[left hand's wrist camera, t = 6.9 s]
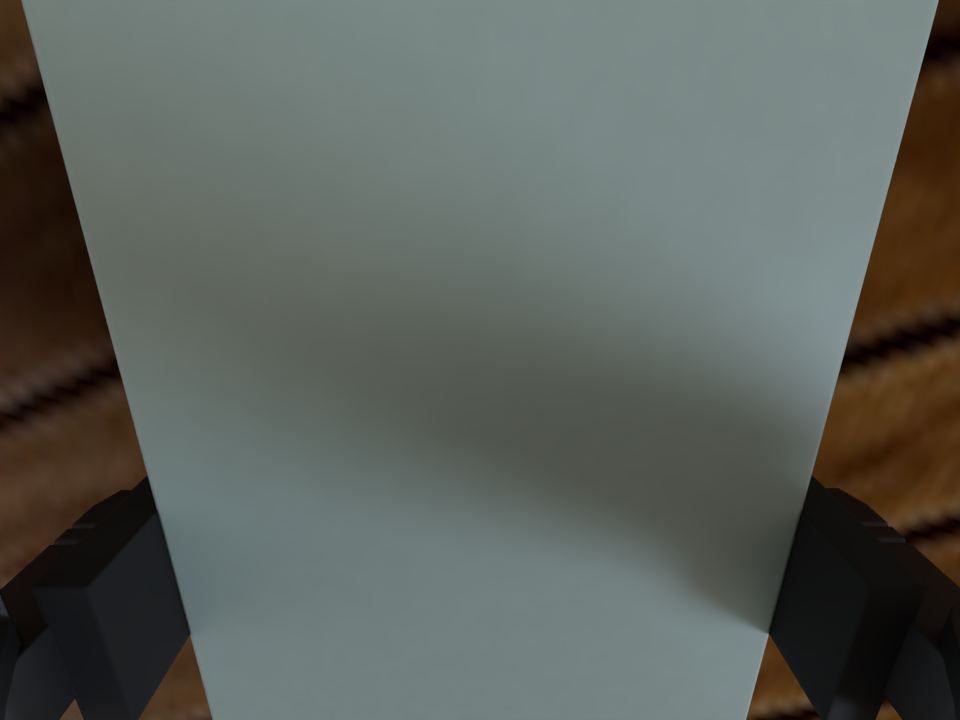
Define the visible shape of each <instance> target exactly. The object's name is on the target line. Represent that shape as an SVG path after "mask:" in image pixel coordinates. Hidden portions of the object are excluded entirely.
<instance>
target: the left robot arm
mask: <svg viewBox="0 0 960 720" xmlns="http://www.w3.org/2000/svg"><path fill="white" fill-rule="evenodd" d="M769 634H770V636H771V638H772V639H773V641H774V643H775V644H776V646H777V647H778V649H779V651H780V652H781V654H782V656H783V657H784V659H785V661H786V662H787V664H788V666H789V667H790V669H791V671H792V672H793V674H794V675H795V677H796V679H797V680H798V682H799V684H800V685H801V687H802V689H803V690H804V692H805V694H806V695H807V697H808V698H809V700H810V702H811V703H812V705H813V707H814V708H815V710H816V712H817V713H818V715H819V717H820V718H821V720H875V719H876V717H877V714H878V712H879V709H880V707H881V704H882V702H883V699H884V697H886V698H887V700H888V701H889V702H890V704H891V705H892V706H893V708H894V709H895V710H896V712H897V713H898V714H899V716H900V717H901V718H902V720H960V588H959V587H958V586H957V585H956V584H955V583H954V582H953V581H952V580H951V579H949V578H948V577H947V576H946V575H945V574H944V573H943V572H942V571H940V570H939V569H938V568H937V567H936V566H935V565H934V564H933V563H932V562H930V561H929V560H928V559H927V558H926V557H925V556H924V555H923V554H921V553H920V552H919V551H918V550H917V549H916V548H915V547H914V546H913V545H911V544H910V543H906V542H905V538H904V537H903V536H901V535H900V534H899V533H898V532H897V531H896V530H895V529H894V528H892V527H888V523H887V522H886V521H885V520H884V519H882V518H881V517H880V516H879V515H878V514H877V513H876V512H875V511H874V510H872V509H871V508H870V507H869V506H868V505H867V504H865V503H863V502H862V501H860V500H858V499H856V498H855V497H853V496H851V495H849V494H847V493H846V492H844V491H842V490H840V489H839V488H825V487H824V486H823V485H822V484H820V483H819V482H818V481H817V480H816V479H815V478H814V477H813V476H812V475H811V478H810V482H809V486H808V490H807V493H806V497H805V501H804V504H803V508H802V512H801V516H800V519H799V523H798V527H797V531H796V534H795V538H794V542H793V546H792V549H791V553H790V557H789V560H788V564H787V568H786V572H785V575H784V579H783V583H782V587H781V590H780V594H779V598H778V601H777V605H776V609H775V613H774V616H773V620H772V624H771V628H770V631H769ZM189 635H190V632H189V629H188V625H187V621H186V617H185V614H184V610H183V606H182V602H181V599H180V595H179V591H178V587H177V584H176V580H175V576H174V572H173V568H172V565H171V561H170V557H169V553H168V550H167V546H166V542H165V538H164V535H163V531H162V527H161V523H160V520H159V516H158V512H157V508H156V505H155V501H154V497H153V493H152V490H151V486H150V482H149V478H148V475H147V476H146V477H145V478H144V479H143V480H142V481H141V482H140V483H139V484H138V485H137V486H136V487H135V488H134V489H133V490H121V491H119V492H117V493H116V494H114V495H112V496H110V497H109V498H107V499H105V500H103V501H102V502H100V503H98V504H96V505H95V506H93V507H92V508H91V509H90V510H88V511H87V512H86V513H85V514H84V515H83V516H82V517H81V518H80V519H78V520H77V521H76V522H75V523H74V524H73V525H72V529H67V530H66V531H65V532H64V533H63V534H62V535H61V536H60V537H59V538H57V539H56V540H55V543H54V545H50V546H49V547H47V548H46V549H45V550H44V551H43V552H42V553H41V554H40V555H39V556H37V557H36V558H35V559H34V560H33V561H32V562H31V563H30V564H29V565H27V566H26V567H25V568H24V569H23V570H22V571H21V572H20V573H19V574H17V575H16V576H15V577H14V578H13V579H12V580H11V581H10V582H9V583H8V584H6V585H5V586H4V587H3V588H2V589H0V720H59V719H60V718H61V716H62V715H63V714H64V712H65V711H66V710H67V708H68V707H69V706H70V704H71V703H72V702H73V700H74V699H76V701H77V704H78V706H79V709H80V711H81V714H82V716H83V719H84V720H138V719H139V717H140V716H141V714H142V712H143V711H144V709H145V707H146V706H147V704H148V702H149V701H150V699H151V697H152V696H153V694H154V693H155V691H156V689H157V688H158V686H159V684H160V683H161V681H162V679H163V678H164V676H165V674H166V673H167V671H168V670H169V668H170V666H171V665H172V663H173V661H174V660H175V658H176V656H177V655H178V653H179V651H180V650H181V648H182V646H183V645H184V643H185V642H186V640H187V638H188V637H189Z"/></svg>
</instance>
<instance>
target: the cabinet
mask: <svg viewBox="0 0 960 720" xmlns="http://www.w3.org/2000/svg"><path fill="white" fill-rule="evenodd" d="M21 1H22V5H23V9H24V12H25V16H26V20H27V24H28V27H29V31H30V35H31V39H32V42H33V46H34V50H35V54H36V57H37V61H38V65H39V69H40V73H41V76H42V80H43V84H44V88H45V91H46V95H47V99H48V103H49V106H50V110H51V114H52V118H53V121H54V125H55V129H56V133H57V136H58V140H59V144H60V148H61V151H62V155H63V159H64V163H65V166H66V170H67V174H68V178H69V181H70V185H71V189H72V193H73V197H74V200H75V204H76V208H77V212H78V215H79V219H80V223H81V227H82V230H83V234H84V238H85V242H86V245H87V249H88V253H89V257H90V260H91V264H92V268H93V272H94V275H95V279H96V283H97V287H98V290H99V294H100V298H101V302H102V305H103V309H104V313H105V317H106V320H107V324H108V328H109V332H110V336H111V339H112V343H113V347H114V351H115V354H116V358H117V362H118V366H119V369H120V373H121V377H122V381H123V384H124V388H125V392H126V396H127V399H128V403H129V407H130V411H131V414H132V418H133V422H134V426H135V429H136V433H137V437H138V441H139V444H140V448H141V452H142V456H143V460H144V463H145V467H146V471H147V475H148V478H149V482H150V486H151V490H152V493H153V497H154V501H155V505H156V508H157V512H158V516H159V520H160V523H161V527H162V531H163V535H164V538H165V542H166V546H167V550H168V553H169V557H170V561H171V565H172V568H173V572H174V576H175V580H176V584H177V587H178V591H179V595H180V599H181V602H182V606H183V610H184V614H185V617H186V621H187V625H188V629H189V632H190V636H191V640H192V644H193V647H194V651H195V655H196V659H197V662H198V666H199V670H200V674H201V677H202V681H203V685H204V689H205V692H206V696H207V700H208V704H209V707H210V711H211V715H212V719H213V720H746V717H747V713H748V710H749V706H750V702H751V699H752V695H753V691H754V687H755V684H756V680H757V676H758V672H759V669H760V665H761V661H762V657H763V654H764V650H765V646H766V643H767V639H768V635H769V631H770V628H771V624H772V620H773V616H774V613H775V609H776V605H777V601H778V598H779V594H780V590H781V587H782V583H783V579H784V575H785V572H786V568H787V564H788V560H789V557H790V553H791V549H792V546H793V542H794V538H795V534H796V531H797V527H798V523H799V519H800V516H801V512H802V508H803V504H804V501H805V497H806V493H807V490H808V486H809V482H810V478H811V475H812V471H813V467H814V463H815V460H816V456H817V452H818V449H819V445H820V441H821V437H822V434H823V430H824V426H825V422H826V419H827V415H828V411H829V407H830V404H831V400H832V396H833V393H834V389H835V385H836V381H837V378H838V374H839V370H840V366H841V363H842V359H843V355H844V351H845V348H846V344H847V340H848V337H849V333H850V329H851V325H852V322H853V318H854V314H855V310H856V307H857V303H858V299H859V296H860V292H861V288H862V284H863V281H864V277H865V273H866V269H867V266H868V262H869V258H870V254H871V251H872V247H873V243H874V240H875V236H876V232H877V228H878V225H879V221H880V217H881V213H882V210H883V206H884V202H885V199H886V195H887V191H888V187H889V184H890V180H891V176H892V172H893V169H894V165H895V161H896V157H897V154H898V150H899V146H900V143H901V139H902V135H903V131H904V128H905V124H906V120H907V116H908V113H909V109H910V105H911V101H912V98H913V94H914V90H915V87H916V83H917V79H918V75H919V72H920V68H921V64H922V60H923V57H924V53H925V49H926V46H927V42H928V38H929V34H930V31H931V27H932V23H933V19H934V16H935V12H936V8H937V4H938V1H939V0H21Z"/></svg>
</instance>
